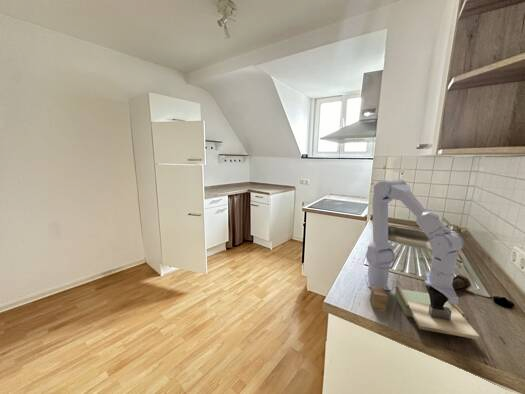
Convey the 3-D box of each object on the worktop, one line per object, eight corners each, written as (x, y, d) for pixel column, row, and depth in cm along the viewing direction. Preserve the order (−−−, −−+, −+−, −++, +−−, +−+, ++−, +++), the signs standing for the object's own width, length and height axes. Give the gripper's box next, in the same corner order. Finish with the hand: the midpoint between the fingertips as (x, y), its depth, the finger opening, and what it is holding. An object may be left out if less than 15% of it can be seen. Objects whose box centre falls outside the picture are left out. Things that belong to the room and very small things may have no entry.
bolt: (434, 297, 87) (459, 289, 92) (447, 298, 83) (473, 289, 87) (428, 282, 89) (453, 274, 94) (441, 282, 84) (466, 274, 89)
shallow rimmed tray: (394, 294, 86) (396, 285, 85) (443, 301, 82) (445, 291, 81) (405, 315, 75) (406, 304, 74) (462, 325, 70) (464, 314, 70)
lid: (405, 303, 77) (407, 292, 76) (455, 311, 73) (457, 300, 72) (419, 328, 66) (421, 316, 65) (479, 339, 62) (481, 327, 61)
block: (369, 300, 83) (371, 285, 81) (381, 302, 81) (383, 287, 80) (372, 309, 78) (374, 294, 77) (385, 311, 77) (387, 295, 76)
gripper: (416, 258, 77) (411, 294, 79) (441, 281, 62) (434, 324, 65) (439, 260, 75) (433, 296, 78) (470, 284, 61) (462, 327, 64)
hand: (435, 309), depth 71 cm, fingers closed
